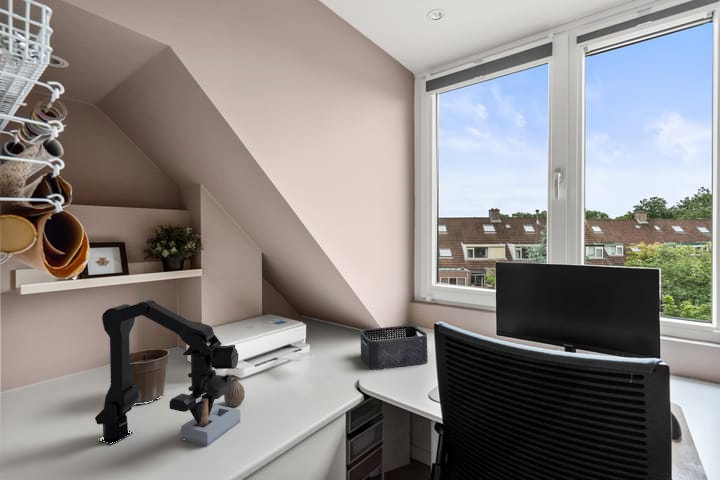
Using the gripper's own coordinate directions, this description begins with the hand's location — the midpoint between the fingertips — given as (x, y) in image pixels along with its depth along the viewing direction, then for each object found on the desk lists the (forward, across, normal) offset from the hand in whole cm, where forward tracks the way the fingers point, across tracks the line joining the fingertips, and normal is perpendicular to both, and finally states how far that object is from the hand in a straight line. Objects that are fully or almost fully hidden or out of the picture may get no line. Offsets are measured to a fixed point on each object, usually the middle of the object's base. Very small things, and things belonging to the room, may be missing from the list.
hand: (203, 419), depth 109 cm
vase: (+5, +20, +5) cm, 21 cm away
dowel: (+3, 0, 0) cm, 3 cm away
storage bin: (+5, +81, -36) cm, 89 cm away
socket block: (+5, +4, 0) cm, 6 cm away
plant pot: (+5, +13, +40) cm, 42 cm away
